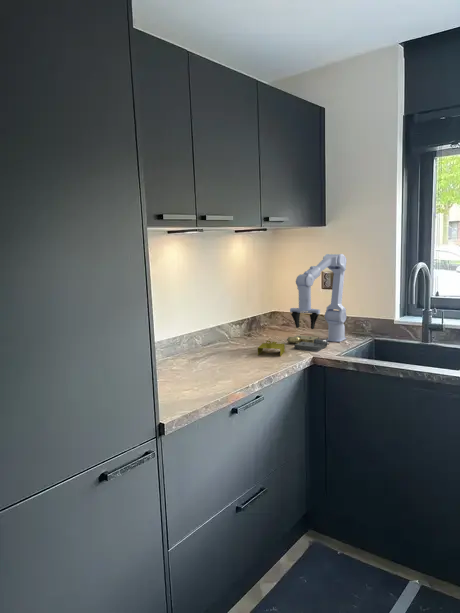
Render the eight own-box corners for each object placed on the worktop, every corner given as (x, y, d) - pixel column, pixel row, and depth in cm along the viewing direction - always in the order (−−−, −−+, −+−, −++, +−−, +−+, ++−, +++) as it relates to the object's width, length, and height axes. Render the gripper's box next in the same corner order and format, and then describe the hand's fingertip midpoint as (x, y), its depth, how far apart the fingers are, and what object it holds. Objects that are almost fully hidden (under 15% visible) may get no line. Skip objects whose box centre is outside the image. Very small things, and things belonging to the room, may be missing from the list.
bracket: (291, 334, 217) (285, 341, 202) (291, 350, 218) (285, 358, 203) (259, 333, 221) (251, 339, 207) (259, 349, 222) (252, 356, 208)
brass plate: (285, 343, 230) (285, 337, 230) (295, 339, 240) (295, 333, 239) (309, 345, 223) (309, 339, 223) (319, 341, 233) (319, 335, 232)
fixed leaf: (294, 348, 218) (294, 341, 218) (304, 344, 228) (304, 337, 228) (320, 351, 211) (320, 344, 211) (329, 346, 221) (329, 339, 220)
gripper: (287, 300, 216) (287, 328, 218) (315, 301, 208) (316, 330, 210) (293, 298, 222) (293, 326, 224) (321, 299, 214) (321, 328, 216)
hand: (305, 328), depth 218 cm, fingers open, 7 cm apart
